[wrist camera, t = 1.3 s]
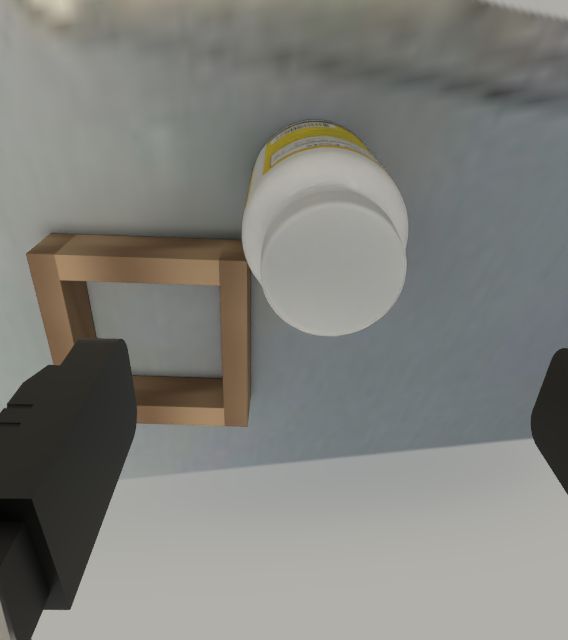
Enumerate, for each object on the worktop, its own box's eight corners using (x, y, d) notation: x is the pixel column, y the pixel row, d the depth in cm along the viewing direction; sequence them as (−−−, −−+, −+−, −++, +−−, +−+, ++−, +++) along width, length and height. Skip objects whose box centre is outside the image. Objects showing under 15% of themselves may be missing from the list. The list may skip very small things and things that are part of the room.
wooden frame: (250, 240, 23) (246, 261, 21) (250, 396, 27) (247, 426, 25) (50, 233, 23) (26, 253, 20) (85, 391, 27) (67, 421, 25)
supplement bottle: (324, 261, 23) (345, 387, 15) (229, 196, 22) (192, 296, 13) (400, 168, 21) (476, 253, 13) (300, 88, 20) (311, 125, 11)
